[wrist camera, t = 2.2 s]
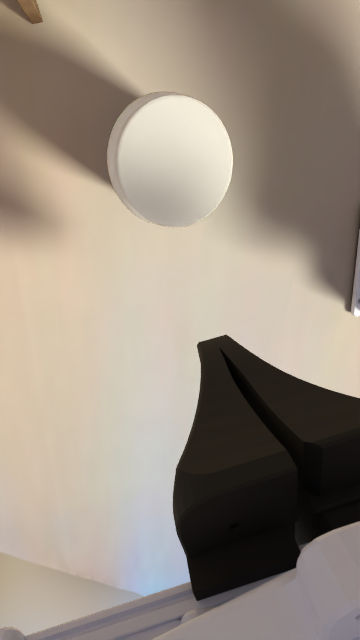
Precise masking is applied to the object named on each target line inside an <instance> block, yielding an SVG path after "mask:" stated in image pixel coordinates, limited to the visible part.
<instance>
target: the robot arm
mask: <svg viewBox="0 0 360 640" xmlns="http://www.w3.org/2000/svg"><path fill="white" fill-rule="evenodd" d="M359 299H360V231H359V240H358V249H357V259H356V268H355V277H354V287H353V296H352V305H351V313H352V315H354V316H356V317H357V316H360V300H359ZM358 300H359V301H358ZM197 348H198V353H199V357H200V362H201V382H200V392H199V399H198V405H197V410H196V414H195V418H194V422H193V426H192V429H191V432H190V435H189V438H188V441H187V444H186V446H185V449H184V451H183V454H182V456H181V458H180V461H179V463H178V465H177V468H176V475H175V482H174V492H173V514H174V520H175V525H176V531H177V535H178V538H179V540H180V542H181V545H182V547H183V549H184V552H185V554H186V557H187V563H188V569H189V574H190V580H191V582H188V583H185V584H182V585H179V586H176V587H172V588H169V589H166V590H163V591H160V592H157V593H154V594H151V595H148V596H145V597H142V598H140V599H136V600H133V601H130V602H127V603H124V604H121V605H118V606H115V607H112V608H109V609H106V610H103V611H100V612H97V613H94V614H91V615H88V616H85V617H82V618H78V619H76V620H72V621H69V622H66V623H64V624H60V625H57V626H54V627H51V628H48V629H45V630H42V631H39V632H36V633H33V634H30V635H27V636H24V635H23V633H22V632H21V631H20V630H18V629H16V628H13V627H5V628H0V640H360V398H356V397H352V396H348V395H345V394H341V393H338V392H334V391H331V390H328V389H325V388H322V387H319V386H316V385H314V384H311V383H308V382H306V381H303V380H301V379H298V378H296V377H294V376H292V375H290V374H287V373H285V372H283V371H281V370H279V369H277V368H276V367H274V366H272V365H270V364H269V363H267V362H265V361H264V360H262V359H260V358H259V357H257V356H256V355H254V354H253V353H251V352H250V351H248V350H247V349H245V348H244V347H243V346H241V345H240V344H238V343H237V342H236V341H234V340H233V339H232V338H230V337H229V336H227V335H224V336H220V337H216V338H213V339H209V340H206V341H202V342H199V343H198V344H197Z"/></svg>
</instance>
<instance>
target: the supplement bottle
mask: <svg viewBox="0 0 360 640" xmlns="http://www.w3.org/2000/svg"><path fill="white" fill-rule="evenodd" d="M107 167H108V172H109V176H110V180H111V183H112V185H113V188H114V190H115V192H116V194H117V196H118V197H119V199H120V200H121V201H122V203H123V204H124V205H125V206H126V207H127V208H128V209H129V210H130V211H131V212H132V213H133V214H135V215H136V216H138V217H139V218H141V219H143V220H145V221H147V222H150V223H153V224H157V225H161V226H165V227H184V226H189V225H192V224H194V223H197V222H199V221H200V220H202V219H204V218H205V217H207V216H208V215H209V214H210V213H212V212H213V210H214V209H215V208H216V207H217V206H218V205H219V203H220V202H221V200H222V199H223V197H224V195H225V193H226V191H227V189H228V186H229V183H230V180H231V175H232V167H233V155H232V147H231V143H230V139H229V136H228V134H227V131H226V129H225V127H224V125H223V123H222V122H221V120H220V119H219V117H218V116H217V115H216V114H215V113H214V111H213V110H211V109H210V108H209V107H208V106H207V105H205V104H204V103H202V102H201V101H199V100H197V99H195V98H192V97H189V96H185V95H181V94H177V93H173V92H154V93H150V94H147V95H144V96H142V97H140V98H138V99H136V100H135V101H133V102H132V103H131V104H129V105H128V106H127V107H126V108H125V110H124V111H123V112H122V113H121V114H120V116H119V117H118V119H117V121H116V122H115V124H114V126H113V128H112V131H111V133H110V137H109V142H108V146H107Z"/></svg>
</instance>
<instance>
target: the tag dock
mask: <svg viewBox="0 0 360 640" xmlns="http://www.w3.org/2000/svg"><path fill="white" fill-rule="evenodd" d="M17 1H18V3H19V4H20V6H21V8H22V9H23V11H24V12H25V14H26V15H27V17H28V19H29V20H30V22H31V23H32V24H34V23H39V22H43V21H42V18H41V14H40V11H39V8H38V5H37V2H36V0H17Z"/></svg>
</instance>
